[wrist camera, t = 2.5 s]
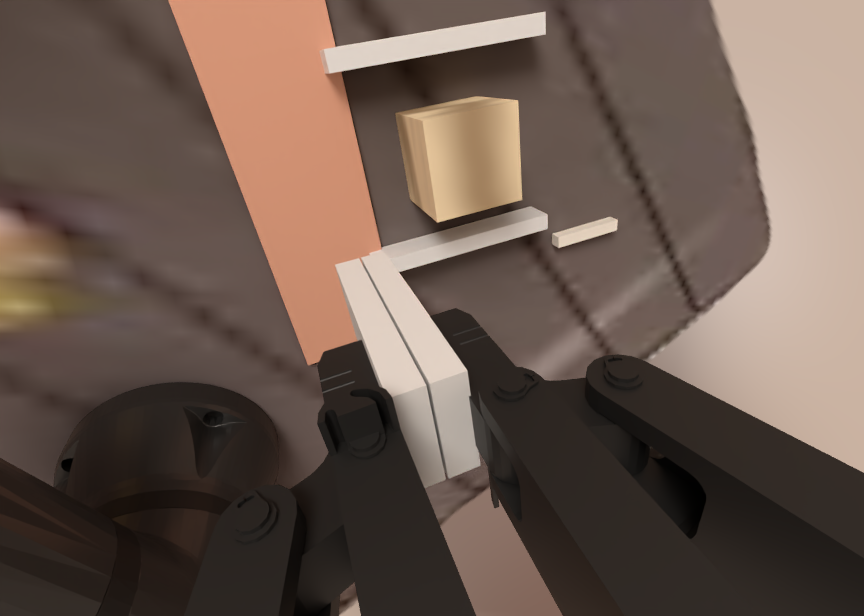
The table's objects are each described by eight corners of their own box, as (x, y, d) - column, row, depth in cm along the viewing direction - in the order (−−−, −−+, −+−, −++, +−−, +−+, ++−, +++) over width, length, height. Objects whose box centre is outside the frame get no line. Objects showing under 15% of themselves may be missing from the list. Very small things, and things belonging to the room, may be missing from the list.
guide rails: (371, 265, 33) (378, 277, 31) (318, 51, 26) (323, 49, 24) (531, 220, 36) (547, 228, 34) (524, 16, 29) (545, 11, 27)
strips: (552, 244, 38) (558, 248, 37) (550, -41, 28) (559, -44, 27) (609, 227, 39) (616, 230, 39) (628, -52, 29) (639, -55, 28)
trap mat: (307, 362, 35) (308, 365, 35) (136, -86, 21) (134, -89, 21) (400, 332, 37) (401, 335, 37) (300, -102, 23) (301, -104, 22)
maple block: (410, 199, 32) (437, 222, 27) (394, 112, 29) (422, 120, 24) (483, 181, 33) (522, 199, 28) (475, 96, 30) (517, 100, 25)
